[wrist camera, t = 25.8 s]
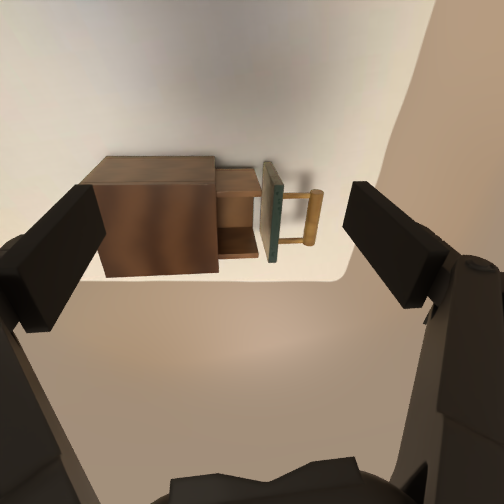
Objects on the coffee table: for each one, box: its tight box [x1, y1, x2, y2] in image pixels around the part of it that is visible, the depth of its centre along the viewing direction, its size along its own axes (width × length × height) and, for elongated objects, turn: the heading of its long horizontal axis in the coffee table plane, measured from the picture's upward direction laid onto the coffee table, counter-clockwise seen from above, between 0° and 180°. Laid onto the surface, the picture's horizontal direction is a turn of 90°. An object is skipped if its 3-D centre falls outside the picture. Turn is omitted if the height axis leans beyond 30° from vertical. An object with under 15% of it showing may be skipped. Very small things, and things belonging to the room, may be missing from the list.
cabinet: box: [79, 156, 219, 278], centre depth 40 cm, size 15×13×11 cm
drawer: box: [215, 162, 324, 263], centre depth 42 cm, size 20×12×9 cm, turn 88°
